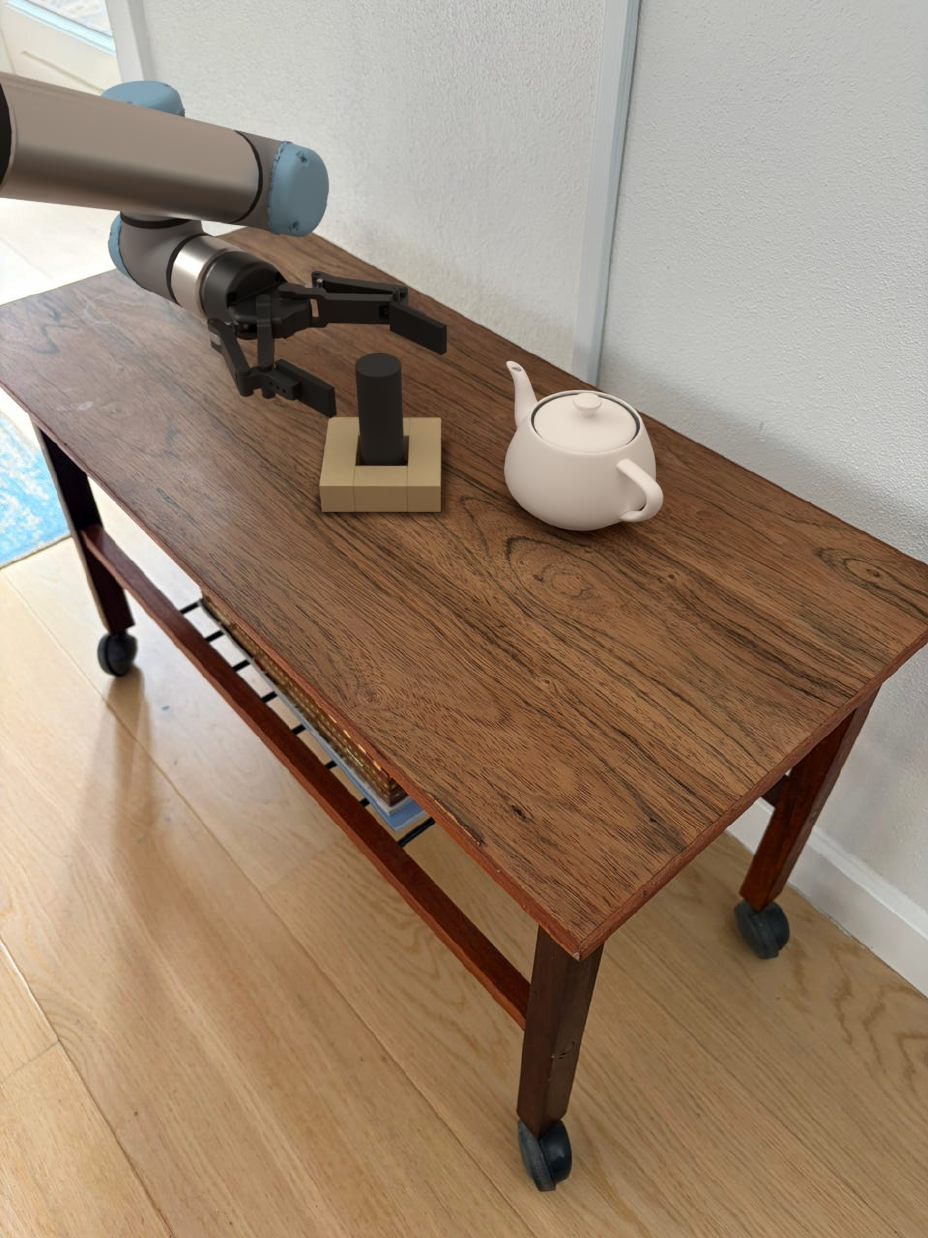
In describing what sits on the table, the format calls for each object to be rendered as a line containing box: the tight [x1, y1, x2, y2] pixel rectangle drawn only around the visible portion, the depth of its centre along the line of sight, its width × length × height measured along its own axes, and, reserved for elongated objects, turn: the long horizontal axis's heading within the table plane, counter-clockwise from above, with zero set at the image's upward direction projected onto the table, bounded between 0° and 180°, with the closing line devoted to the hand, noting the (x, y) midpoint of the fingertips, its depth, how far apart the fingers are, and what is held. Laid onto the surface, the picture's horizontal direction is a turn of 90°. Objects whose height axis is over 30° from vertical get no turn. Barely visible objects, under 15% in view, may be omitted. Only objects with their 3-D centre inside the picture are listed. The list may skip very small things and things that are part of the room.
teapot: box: [503, 360, 664, 532], centre depth 91 cm, size 22×14×11 cm, turn 33°
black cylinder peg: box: [354, 352, 406, 466], centre depth 93 cm, size 4×4×12 cm
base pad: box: [318, 416, 442, 513], centre depth 96 cm, size 11×11×3 cm
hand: (390, 370), depth 87 cm, fingers open, 13 cm apart
